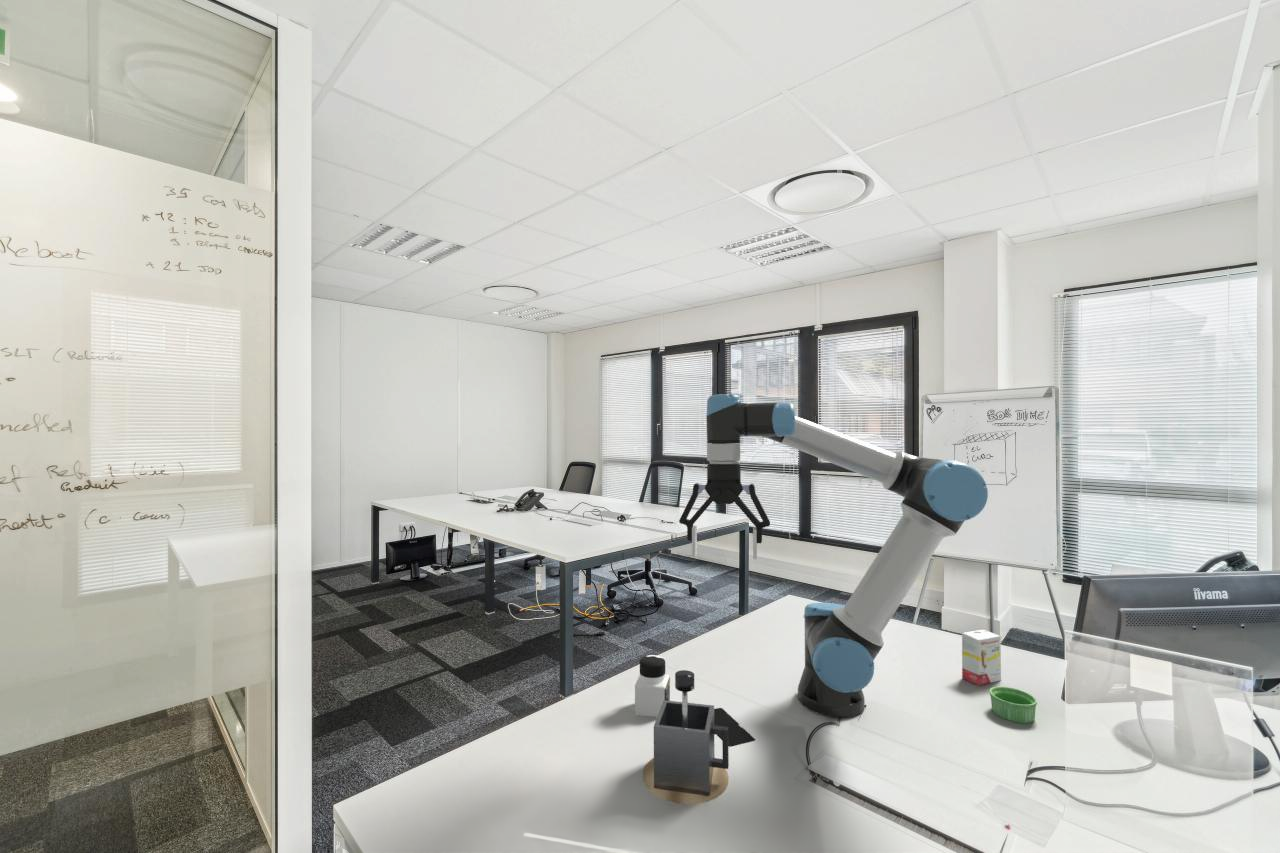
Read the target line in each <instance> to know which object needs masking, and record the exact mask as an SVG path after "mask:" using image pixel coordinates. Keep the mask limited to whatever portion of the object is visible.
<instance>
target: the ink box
mask: <svg viewBox="0 0 1280 853" xmlns="http://www.w3.org/2000/svg"><path fill="white" fill-rule="evenodd" d="M1001 639H1002V638H1001V636H1000V635H999V634H997V633H994V632H991V631H989V630H987V629H977V630H973V631H972V630H971V631H965V632H963V633H962V634H961V646H962V647H961V653H962V654H961V656H962V657H961V660H962V661H961V677H962V679H963V680H966V681H968V682H971V683H972V684H975V685H977V686H983V685H988V684H990V683H991V684H992V683H996V682H1000V681H1002V661H1001V655H1002V653H1001V649H1002V648H1001V642H1002V641H1001Z"/></svg>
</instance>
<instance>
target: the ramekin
mask: <svg viewBox="0 0 1280 853" xmlns="http://www.w3.org/2000/svg"><path fill="white" fill-rule="evenodd" d="M988 693H989V696H990V701H991V702H990V703H991V709H992V711H993V713H994V714H995V715H997V716H999V718H1002V719H1003V720H1006V721H1010V722H1013V723H1021V724H1028V723H1032V722H1034V721H1035V718H1036V708H1037V704H1038V701H1037V698H1036V697H1035V696H1034V695H1032V694H1030V693H1028V692H1026V691H1024V690H1021V689H1019V688H1014V687H1009V686H994V687H993V686H992V687H991V688H989V692H988Z"/></svg>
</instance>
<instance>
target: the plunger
mask: <svg viewBox="0 0 1280 853" xmlns="http://www.w3.org/2000/svg"><path fill="white" fill-rule="evenodd" d="M674 677H675V678H674V680H675V682H674V683H675V684H674V686H675V689H676V690H677V691H679V692H681V699H682V700H681V702H682V728H688V703H689V702H688V701H689V700H688V696H689V695H688V692H692V691H693V690H695V673H694V672H693V671H691V670H685V669H682V670H681V669H680V670H678V671H676V672H675V673H674Z"/></svg>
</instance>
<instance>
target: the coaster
mask: <svg viewBox="0 0 1280 853" xmlns="http://www.w3.org/2000/svg"><path fill="white" fill-rule="evenodd" d="M642 779H643V780H642V781H643V783H644V785H645V786H646V788H647V789H648V791H650V792H651V793H652V794H653V795H655V796H656V797H658V798H659V799H661V800H664V801H666V802H669V803H674V804H679V805H699V804H705V803H707V802H711V801H713V800H715V799H716V798H718V797H720V796H721V795H722V794H723V793H724V792H725V791H726V789H727V787H728V785H729V781H730V780H729V773H728V771H727V769H723V768H716V767H714V770H713V776H712V783H711V790H710V796H704V795H697V794H690V793H683V792H676V791H669V790H663V789H656V788H654V757H652V758H651V759H650V760H649V761H648V762H647V763H646V764H645V766H644V767H643V772H642Z"/></svg>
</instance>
